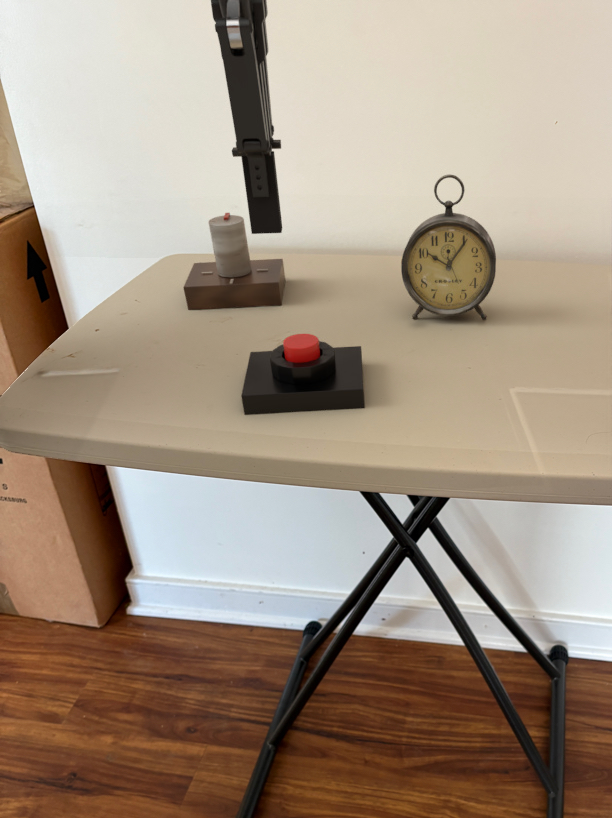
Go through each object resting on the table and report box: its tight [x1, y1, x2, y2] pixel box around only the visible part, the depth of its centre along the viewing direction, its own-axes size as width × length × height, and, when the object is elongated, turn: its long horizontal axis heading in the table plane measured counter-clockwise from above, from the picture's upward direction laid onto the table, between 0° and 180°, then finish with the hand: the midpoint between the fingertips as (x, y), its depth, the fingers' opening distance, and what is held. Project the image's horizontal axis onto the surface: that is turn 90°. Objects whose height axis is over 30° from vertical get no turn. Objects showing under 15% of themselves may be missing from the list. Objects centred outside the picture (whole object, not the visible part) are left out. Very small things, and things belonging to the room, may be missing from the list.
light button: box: [282, 333, 320, 363], centre depth 77 cm, size 4×4×2 cm
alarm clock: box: [400, 174, 497, 321], centre depth 88 cm, size 11×5×16 cm, turn 83°
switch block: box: [240, 340, 366, 416], centre depth 78 cm, size 12×10×4 cm
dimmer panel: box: [183, 258, 286, 311], centre depth 100 cm, size 12×9×3 cm
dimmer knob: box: [208, 212, 252, 278], centre depth 97 cm, size 4×4×7 cm
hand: (267, 230), depth 70 cm, fingers closed
